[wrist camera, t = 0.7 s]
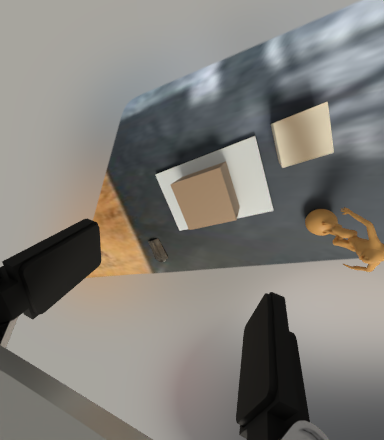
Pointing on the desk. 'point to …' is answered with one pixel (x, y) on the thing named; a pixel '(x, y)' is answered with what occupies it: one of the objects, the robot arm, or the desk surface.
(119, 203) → the desk surface
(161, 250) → the block
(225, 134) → the desk surface
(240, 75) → the desk surface
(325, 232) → the figurine
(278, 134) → the maple block
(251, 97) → the desk surface
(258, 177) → the build board
